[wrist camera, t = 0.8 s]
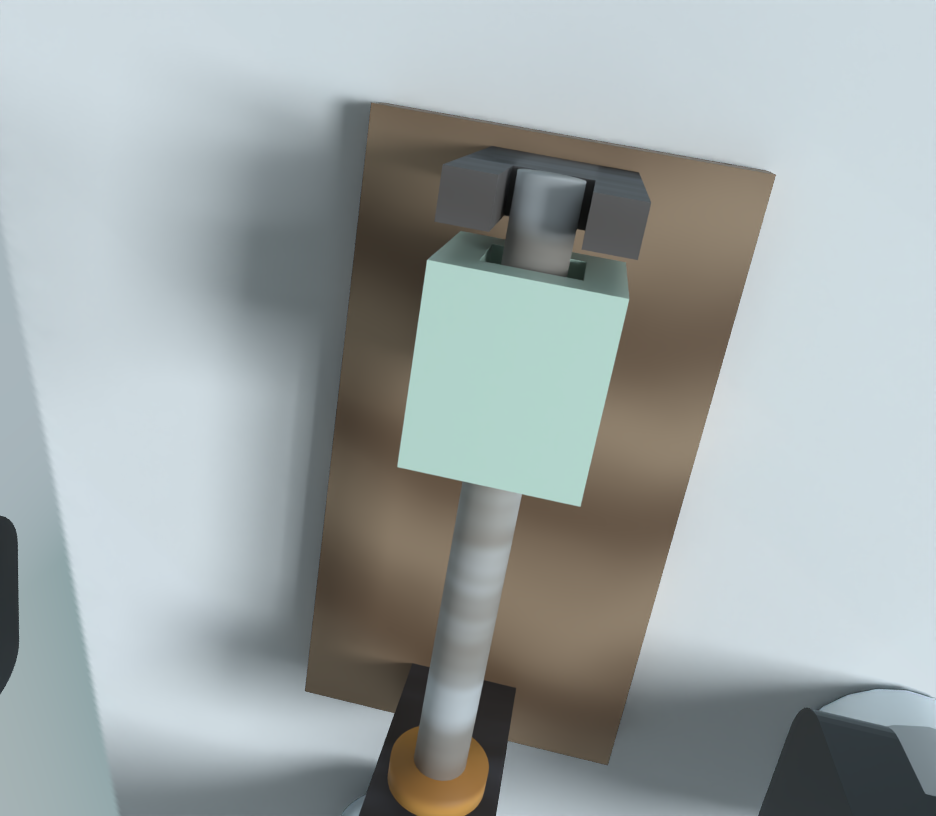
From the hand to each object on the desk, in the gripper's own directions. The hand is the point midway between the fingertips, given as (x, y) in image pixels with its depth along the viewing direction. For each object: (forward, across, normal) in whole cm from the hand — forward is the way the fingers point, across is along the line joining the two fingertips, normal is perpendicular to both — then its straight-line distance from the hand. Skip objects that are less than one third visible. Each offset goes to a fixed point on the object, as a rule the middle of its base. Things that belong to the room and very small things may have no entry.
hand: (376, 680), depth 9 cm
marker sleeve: (+16, 0, 0) cm, 16 cm away
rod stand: (+21, 0, +6) cm, 22 cm away
